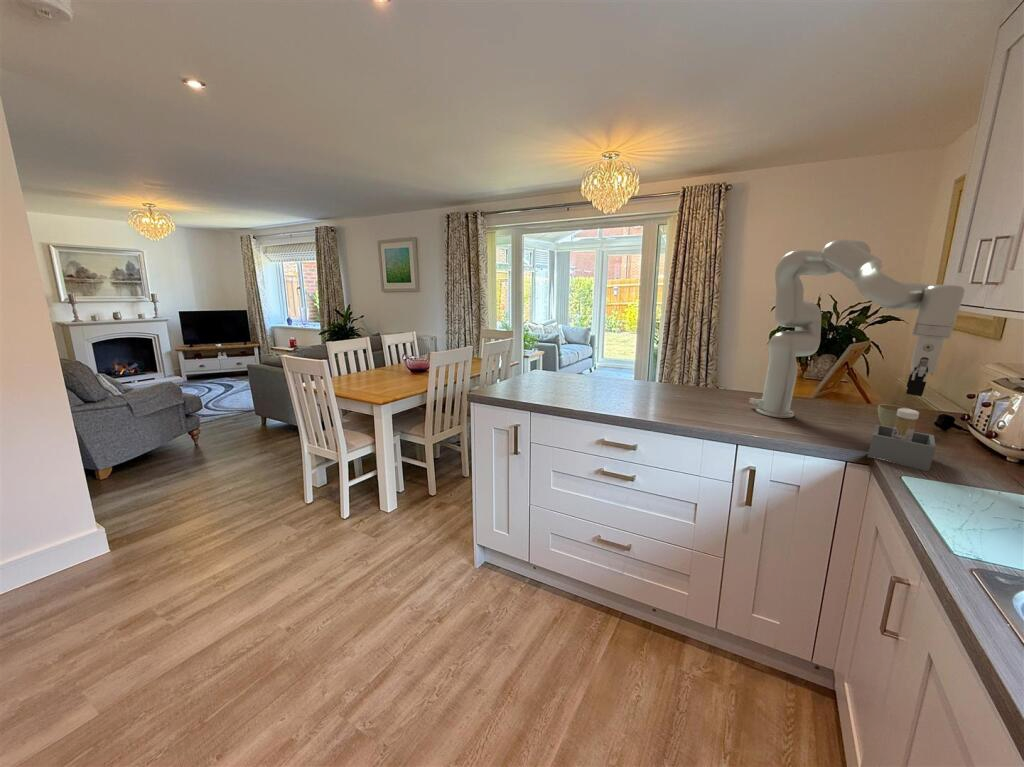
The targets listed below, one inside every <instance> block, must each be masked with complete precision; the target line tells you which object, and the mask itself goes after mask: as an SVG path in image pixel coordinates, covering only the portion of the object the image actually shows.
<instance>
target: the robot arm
mask: <svg viewBox="0 0 1024 767" xmlns="http://www.w3.org/2000/svg"><path fill="white" fill-rule="evenodd" d="M871 250H872V249H871V248H870V245H868V243H866V242H864V241H863V240H854V239H835V240H833V241H831V242H828V243H827V244H826V245H825V246H824V247H823V248H822V250H813V249H796V250H791V251H789V252H788V253H786V254H785V255H783V256H782V257H781V258H780V259H779V261H778V263H777V265H776V267H775V271H774V272H775V273H774V278H775V279H774V281H775V303H774V304H775V306H774V321H775V323H776V325H778V326H779V327H782V328H794V330H783V331H780V332H777V333H775V334H774V335H772V337H771V338H770V339H769V342H768V364H767V371H766V376H765V382H764V385H763V386H764V387H763V394H762V396H761V398H758V399H756V398H753V397H750V398H749V400H748V403H750V404H751V405H757V406H755V411H756V412H757V413H759V414H761V415H765V416H769V417H774V418H780V419H790V418H793V417H794V415H795V413H794V411H792V410H791V405H792V400H793V395H794V391H795V385H796V381H797V377H798V370H799V368H798V366H799V365H798V362H797V357H809V356H812V355H814V354H815V353H817V351H818V350H819V348H820V344H821V335H822V334H821V333H822V331H821V330H822V311H821V309H820V307H819V306H818V305H817V303H815V302H812V301H805V300H804V284H803V282H802V280H801V279H800V278H801V276H814V277H815V276H816V277H817V276H819V277H820V276H826V275H831V274H834V273H835V274H836V273H840V274H841V275H843V276H844V277H846V278H848V279H849V280H850V281H852V282H853V283H854V285H855V287H856V289H857V290H858V292H859V293H860V294H861V295H862V296H864V297H865V298H867V300H869V301H871V302H872V303H874V304H876V305H877V306H879V307H880V308H883V309H887V310H890V311H891V310H898V311H901V310H902V311H917V310H918V313H917V315H916V316H917V317H916V319H915V322H914V327H913V330H912V333H911V336H914V337H916V341H915V345H914V348H913V352H912V355H911V360H910V371H911V373H910V374H909V377H908V380H907V384H906V388H907V389H906V395H911V396H917V397H922V396H923V394H924V391H925V387H926V384H927V382H926V381H927V377H928V374H930V375H931V376H932V375H935V373H936V371H937V367H938V363H939V361H940V357H941V353H942V350H943V347H944V346H943V345H944V342H945V340H950V339H951V337H952V333H953V331H954V330H953V329H954V327H955V323H956V321H957V317H958V315H959V311H960V308H961V304H962V301H963V298H964V295H965V288H964V287H963V286H961V285H953V284H928V283H924V282H923V283H921V282H904V281H903V282H902V281H901V282H900V281H898V280H895V279H893V277H890V276H889V275H887V274H885V273H884V272H882V271H881V270H882V267H883V260H882V259H881V258H880V257H878V256H876V255H874V254H872V253H871Z"/></svg>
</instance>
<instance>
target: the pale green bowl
mask: <svg viewBox="0 0 1024 767" xmlns="http://www.w3.org/2000/svg"><path fill="white" fill-rule="evenodd" d="M901 408H905V409H910V408H908V407H905V406H899V405H895V404H878V406H877V412H878V413H877V414H878V419H879V421H880V425H883V426H888V427H893V428H894V426H895V422H896V418H897V411H898V409H901Z"/></svg>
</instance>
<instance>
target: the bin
mask: <svg viewBox="0 0 1024 767" xmlns="http://www.w3.org/2000/svg"><path fill="white" fill-rule="evenodd" d="M893 429H894V428H893V427H888V426H883V425H882V424H877V423H876V424H874V429H873V433H872V436H871V441H870V446H869V448H868V453H867V458H870V459H873V458H874V457H875V458H881V459H885V460H888V461H891V462H895V463H898V464H897V465H899V464H902V465H901V466H903V465H905V466H904V467H907V466H909V467H908V468H912V467H913V468H912V469H917V470H920V471H924V472H930V468H931V465H932V461H933V458H934V456H935V452H936V449H937V448H936V440H935V435H933V434H928V433H923V432H917V431H914V433H913V437H912V440H911V441H906V440H901V439H896V438H891V436H892V432H893ZM895 463H894V464H895Z"/></svg>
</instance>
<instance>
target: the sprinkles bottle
mask: <svg viewBox="0 0 1024 767" xmlns="http://www.w3.org/2000/svg"><path fill="white" fill-rule="evenodd" d="M905 408H906V407H905ZM905 408H901V409H898V411H897V418H896V422H895V426H894V429H893V432H892V436H891V438H896V439H901V440H906V441H911V440H912V437H913V433H914V432H915V429H916V424H917V420H918V419H919V416H920V412H919V411H918V410H914V409H911V408H909V409H905Z"/></svg>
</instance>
